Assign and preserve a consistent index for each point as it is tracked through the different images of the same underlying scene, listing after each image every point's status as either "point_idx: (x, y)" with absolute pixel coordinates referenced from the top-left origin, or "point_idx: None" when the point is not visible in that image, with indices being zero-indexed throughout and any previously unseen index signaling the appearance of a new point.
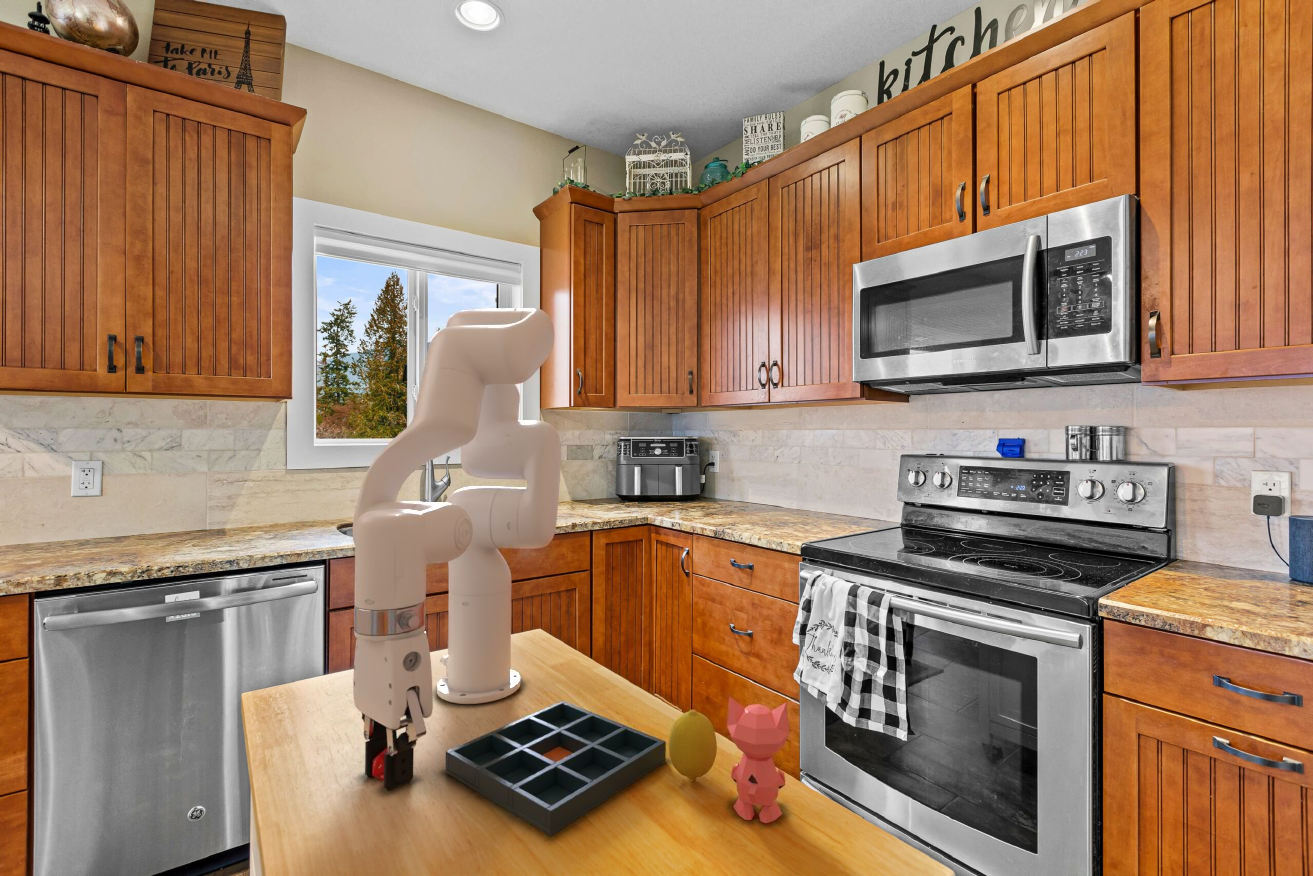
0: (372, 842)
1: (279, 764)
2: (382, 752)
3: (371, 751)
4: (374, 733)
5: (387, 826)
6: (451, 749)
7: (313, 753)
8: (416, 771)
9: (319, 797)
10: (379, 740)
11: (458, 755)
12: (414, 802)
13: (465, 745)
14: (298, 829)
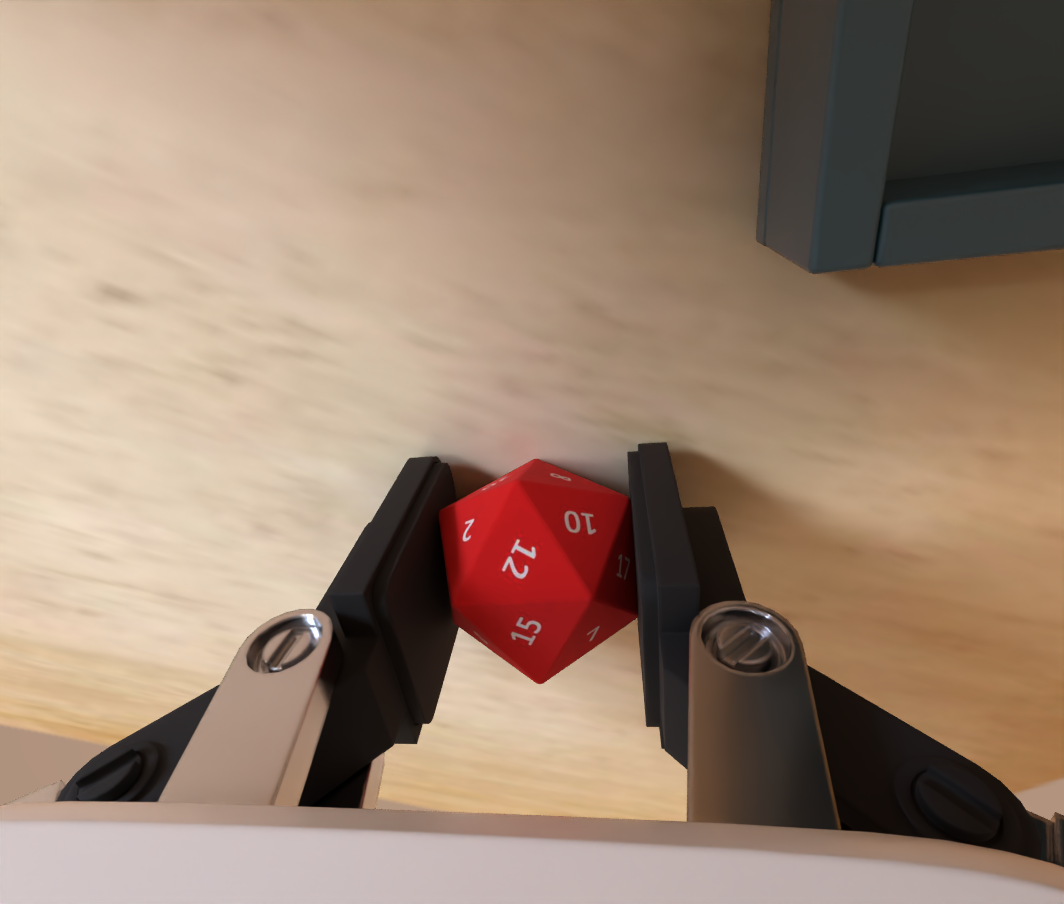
0: (973, 721)
1: (132, 713)
2: (524, 664)
3: (439, 675)
4: (372, 751)
5: (935, 658)
6: (839, 212)
7: (80, 623)
8: (575, 373)
9: (486, 716)
10: (407, 680)
11: (1015, 214)
12: (880, 517)
13: (909, 19)
14: (648, 801)
